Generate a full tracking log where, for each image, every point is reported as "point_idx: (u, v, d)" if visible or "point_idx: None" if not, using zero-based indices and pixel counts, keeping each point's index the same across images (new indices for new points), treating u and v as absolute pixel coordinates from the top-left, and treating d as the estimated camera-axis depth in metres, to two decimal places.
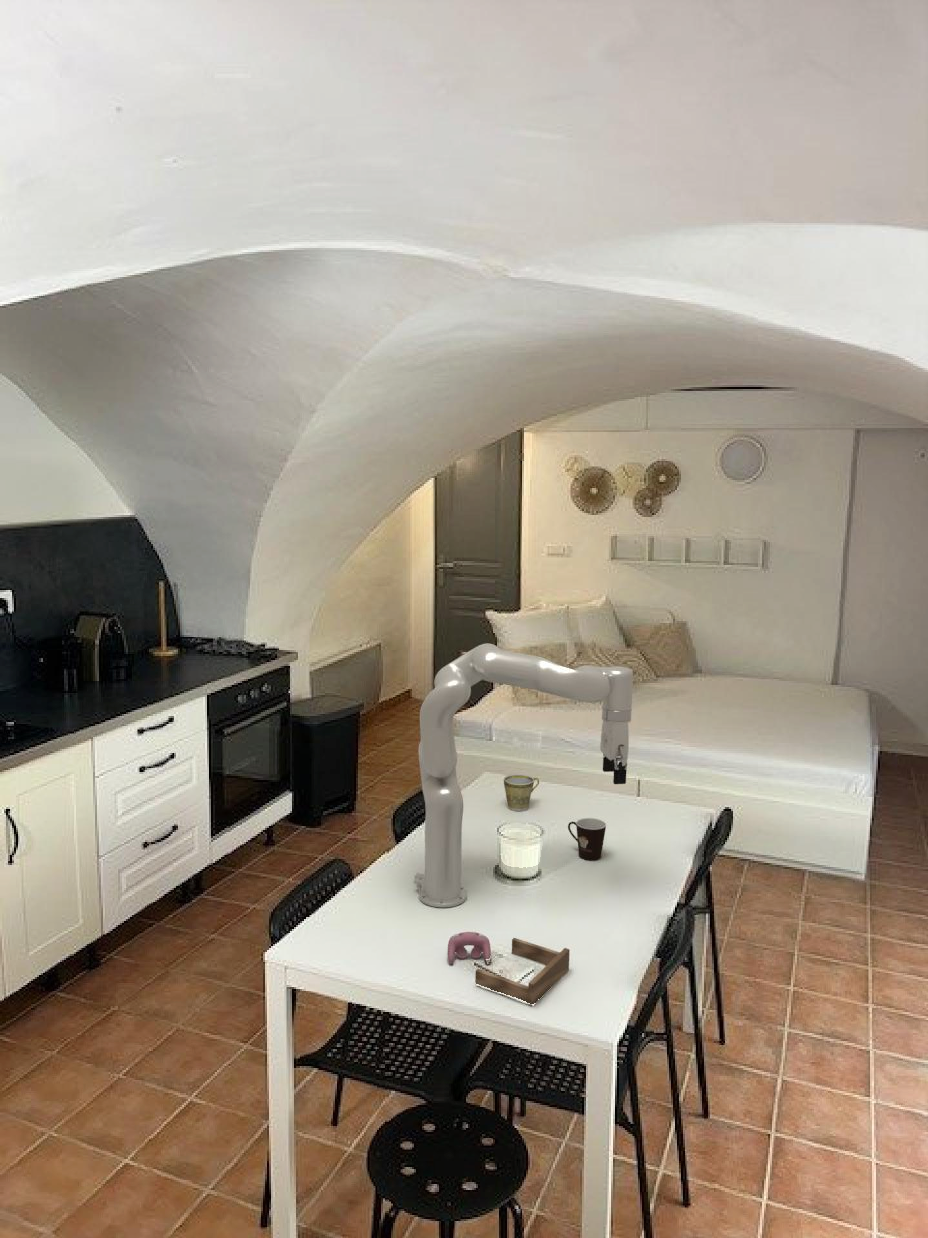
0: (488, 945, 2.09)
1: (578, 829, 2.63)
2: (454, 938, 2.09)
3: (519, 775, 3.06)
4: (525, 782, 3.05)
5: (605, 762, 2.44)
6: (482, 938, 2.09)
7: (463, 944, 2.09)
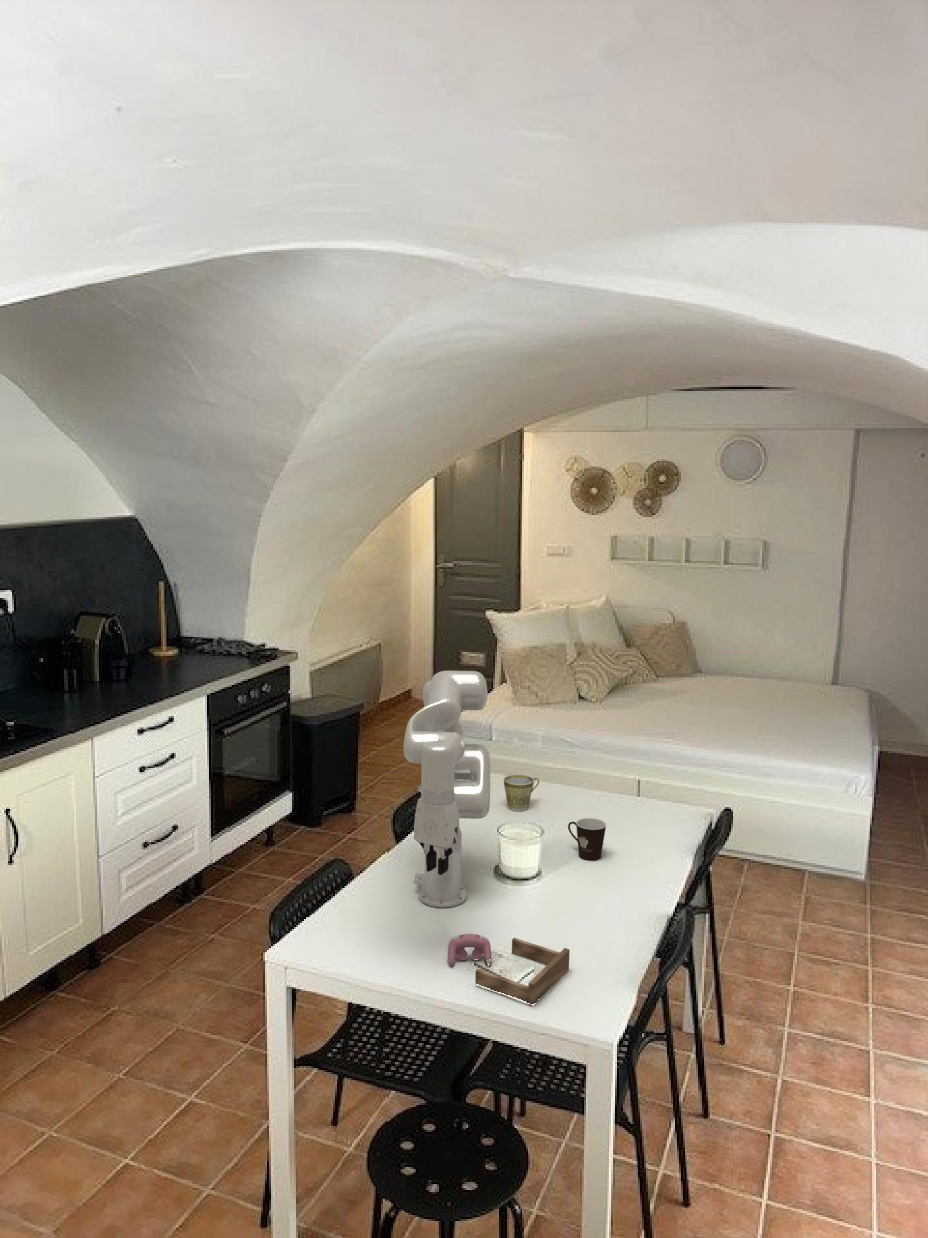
0: (489, 947, 2.08)
1: (578, 829, 2.63)
2: (454, 940, 2.08)
3: (519, 775, 3.06)
4: (525, 782, 3.05)
5: (430, 860, 2.11)
6: (483, 940, 2.08)
7: (464, 946, 2.08)
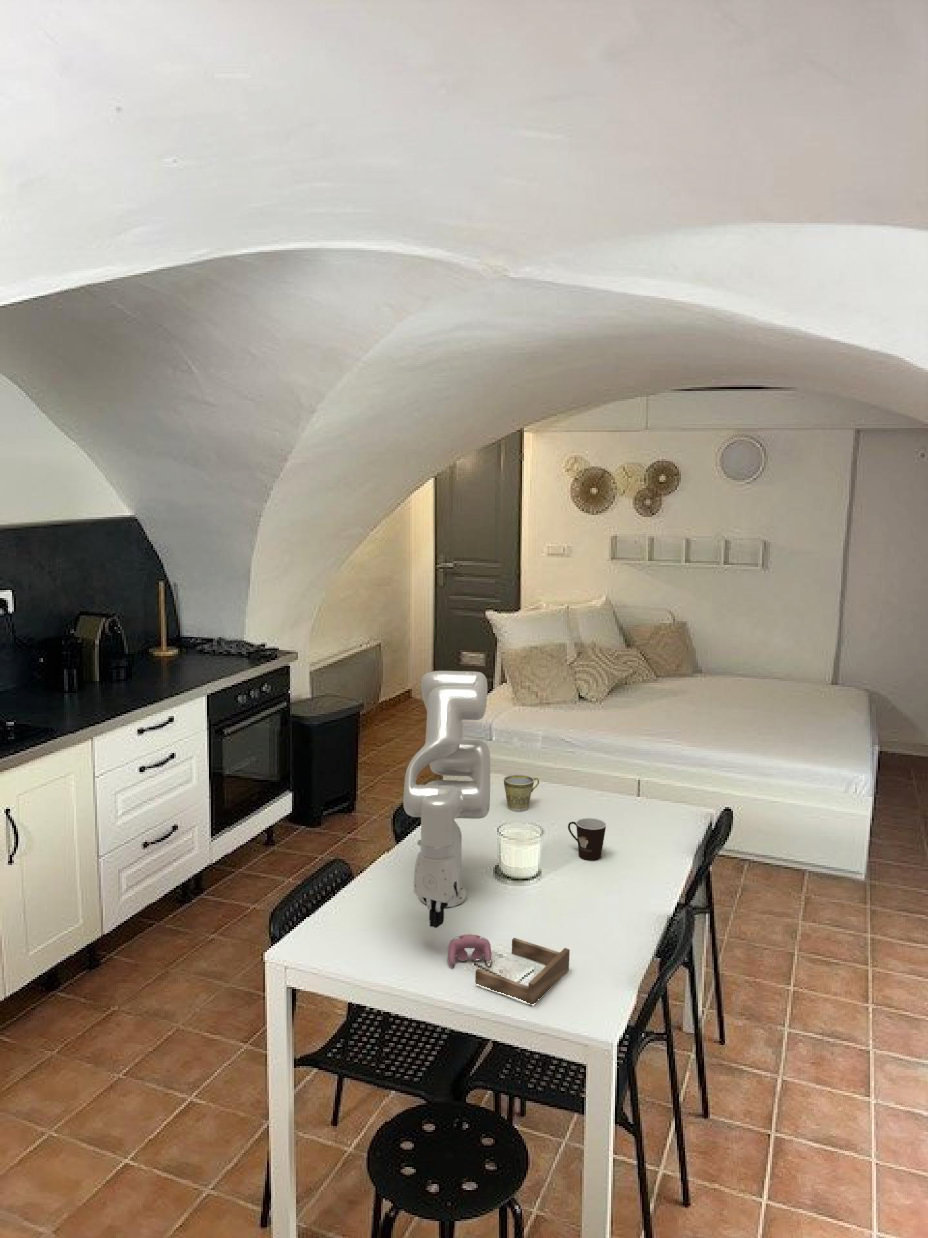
0: (489, 948, 2.08)
1: (578, 829, 2.63)
2: (455, 941, 2.08)
3: (519, 775, 3.06)
4: (525, 782, 3.05)
5: None
6: (483, 941, 2.08)
7: (464, 947, 2.08)
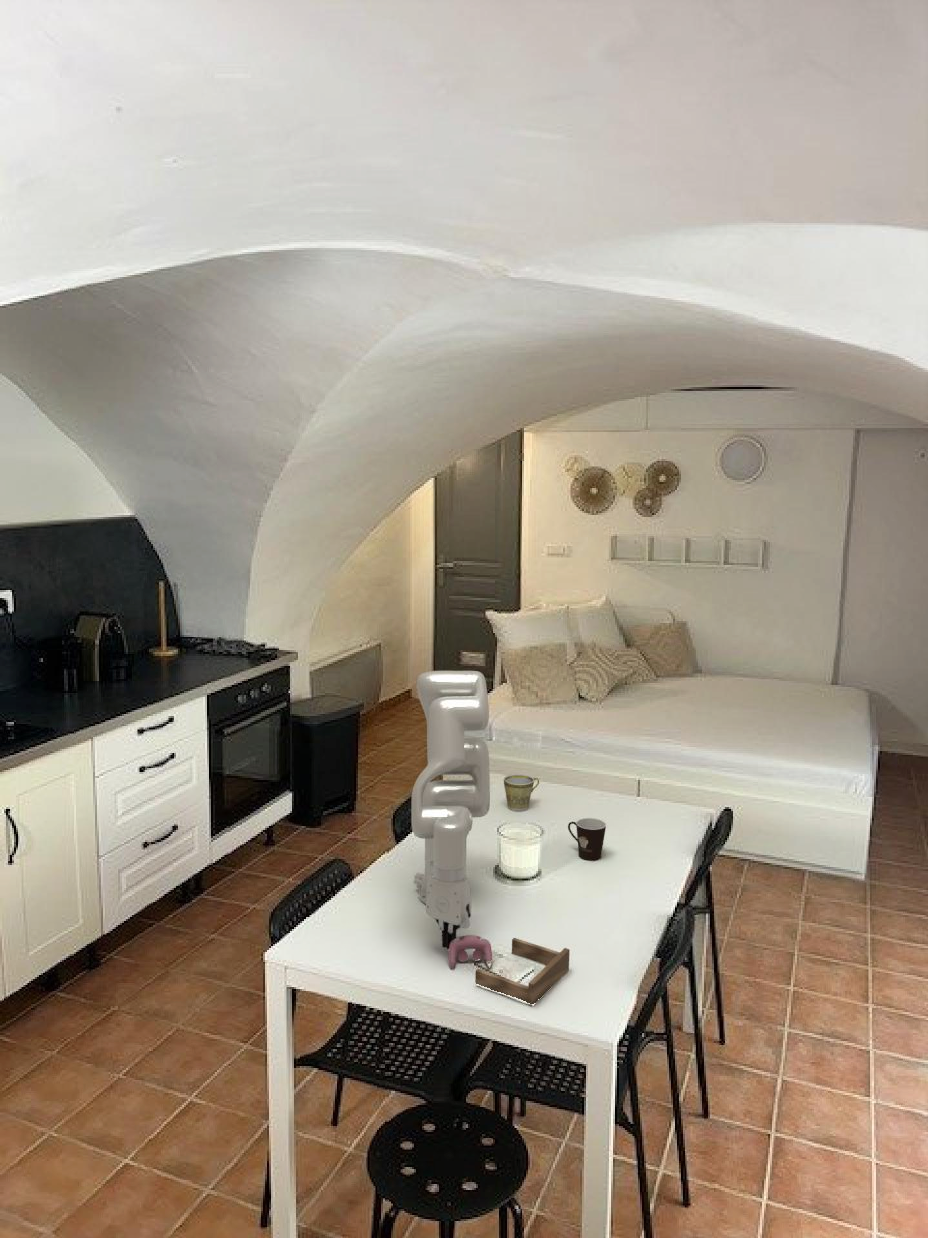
0: (489, 948, 2.07)
1: (578, 829, 2.63)
2: (455, 942, 2.08)
3: (519, 775, 3.06)
4: (525, 782, 3.05)
5: None
6: (483, 941, 2.08)
7: (464, 947, 2.07)
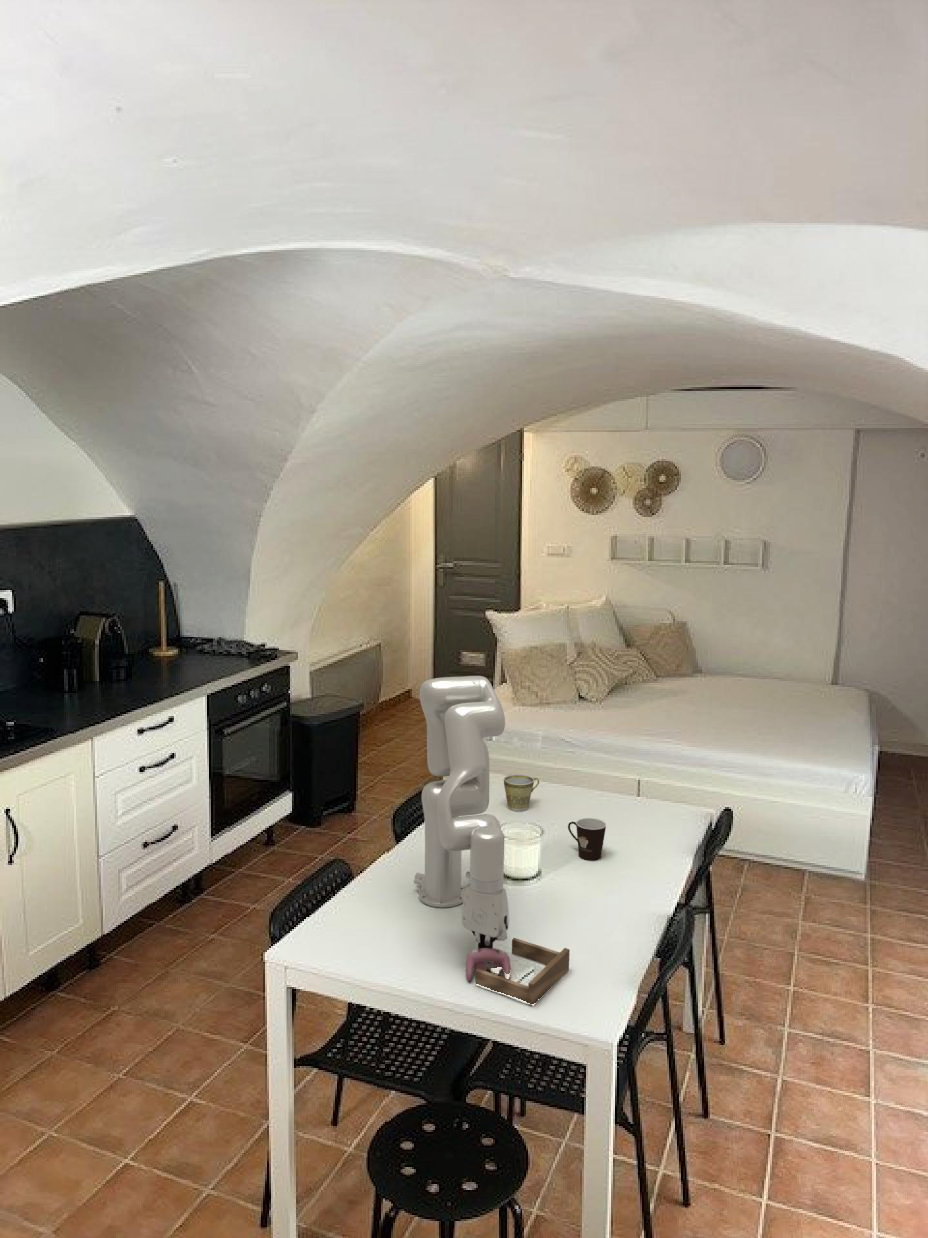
0: (508, 962, 2.02)
1: (578, 829, 2.63)
2: (473, 954, 2.02)
3: (519, 775, 3.06)
4: (525, 782, 3.05)
5: None
6: (502, 955, 2.02)
7: (482, 960, 2.02)
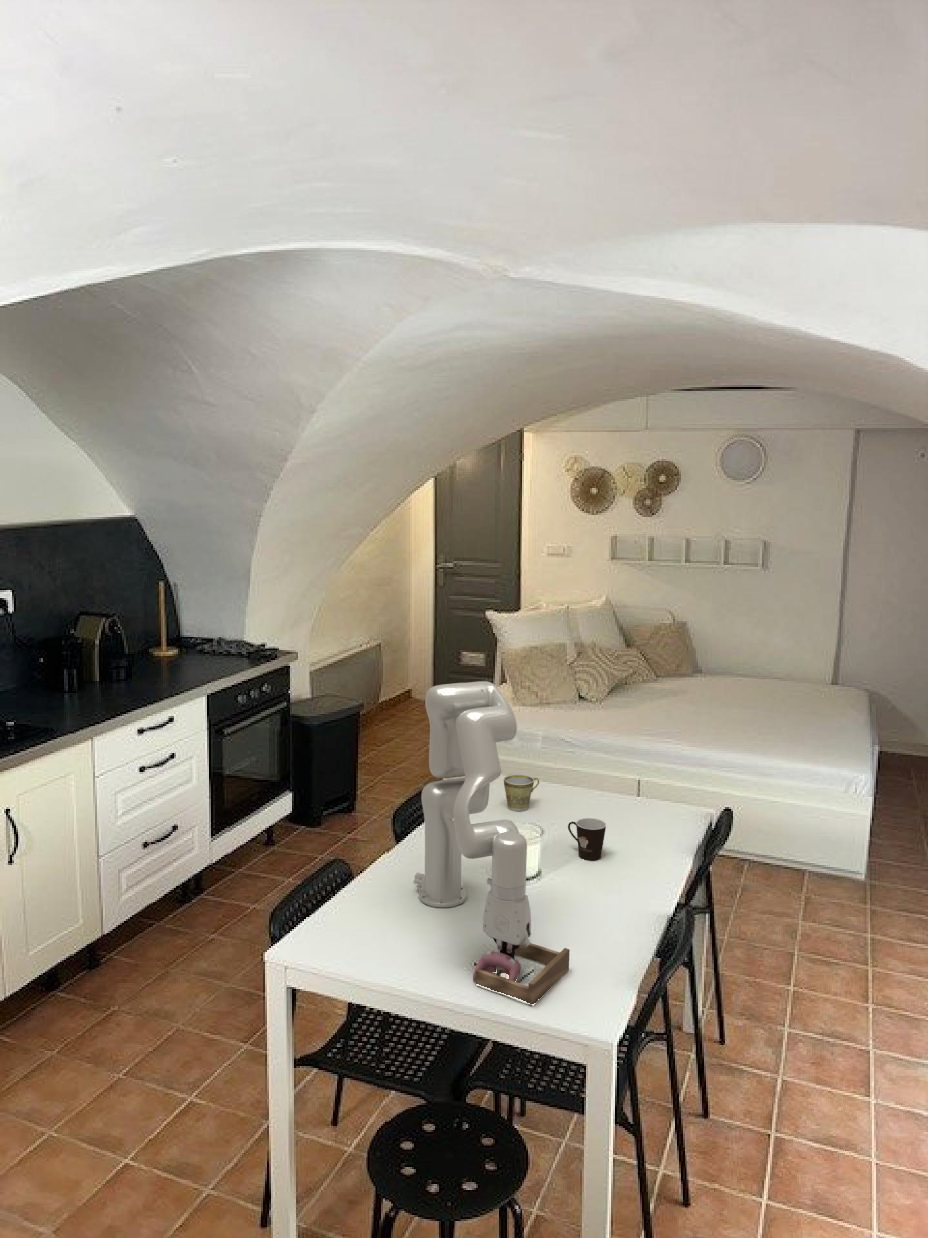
0: (514, 972, 1.98)
1: (578, 829, 2.63)
2: (484, 955, 2.02)
3: (519, 775, 3.06)
4: (525, 782, 3.05)
5: None
6: (510, 963, 1.99)
7: (491, 964, 2.01)
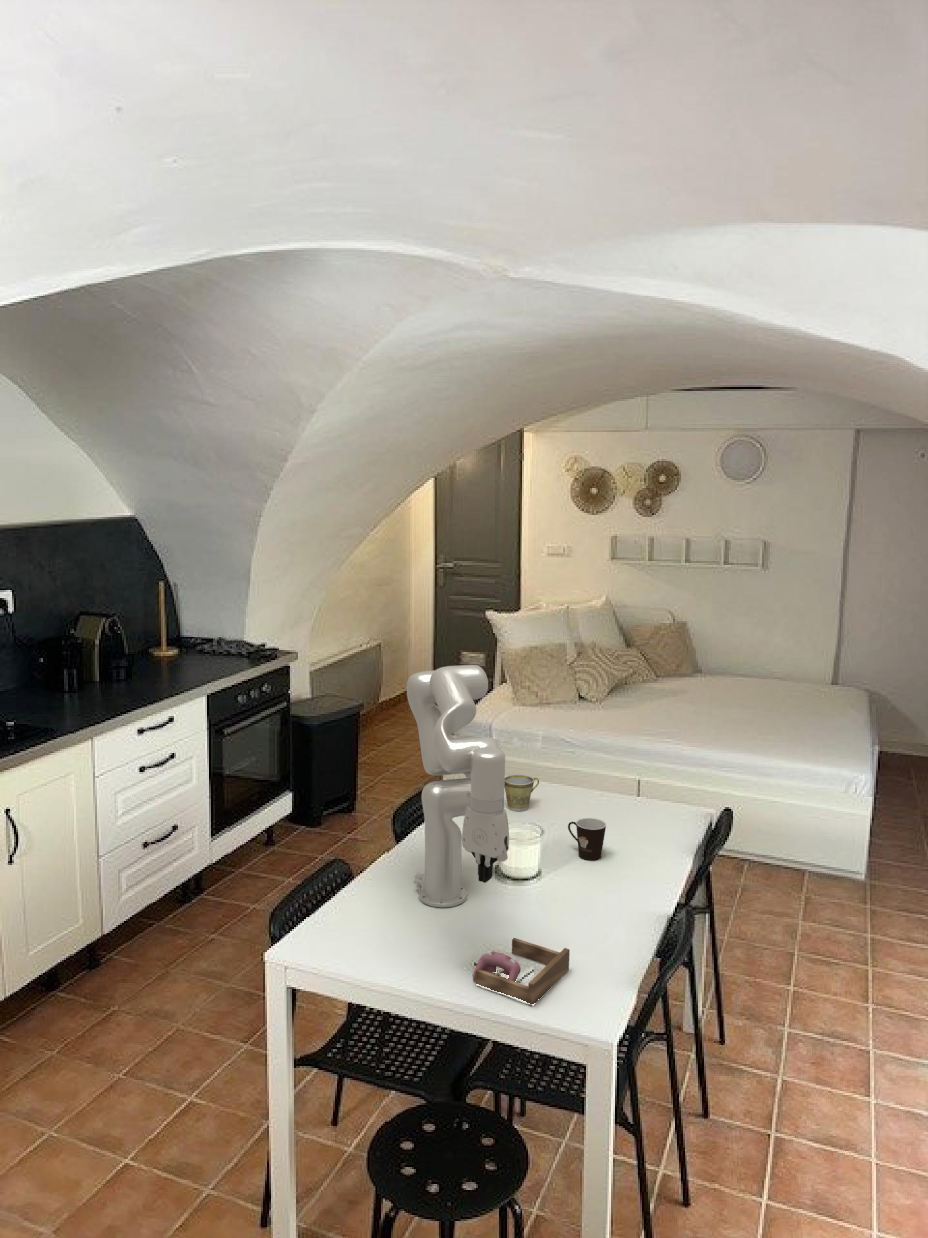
0: (514, 972, 1.98)
1: (578, 829, 2.63)
2: (484, 955, 2.02)
3: (519, 775, 3.06)
4: (525, 782, 3.05)
5: None
6: (510, 963, 1.99)
7: (491, 964, 2.01)
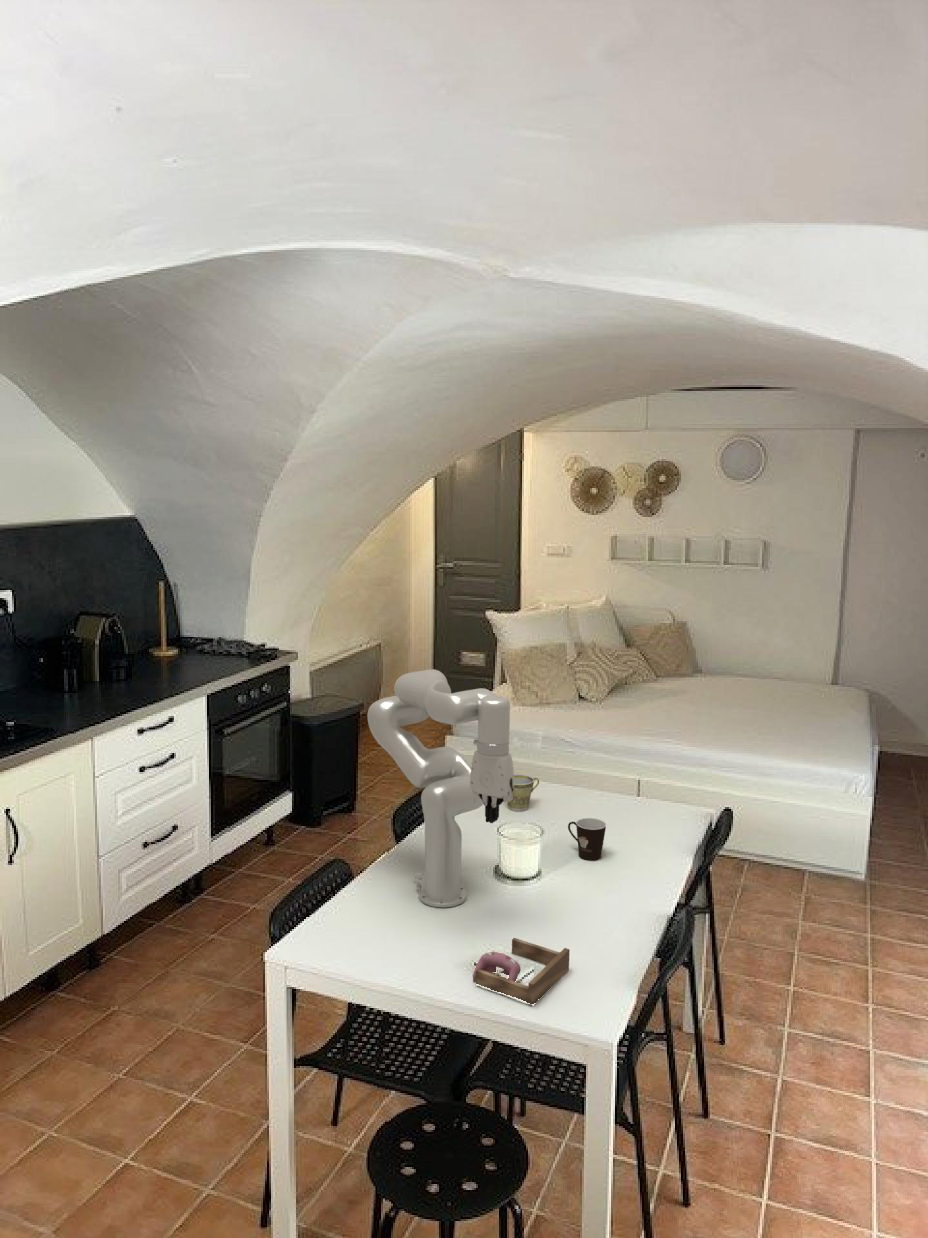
0: (514, 972, 1.98)
1: (578, 829, 2.63)
2: (484, 955, 2.02)
3: (519, 775, 3.06)
4: (525, 782, 3.05)
5: None
6: (510, 963, 1.99)
7: (491, 964, 2.01)
